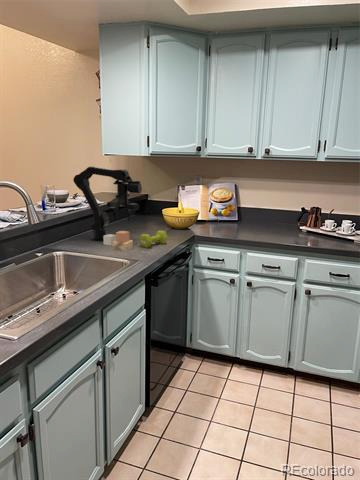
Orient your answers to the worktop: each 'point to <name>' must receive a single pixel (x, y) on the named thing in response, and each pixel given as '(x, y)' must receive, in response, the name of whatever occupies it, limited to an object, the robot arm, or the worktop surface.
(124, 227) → the worktop surface
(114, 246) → the oak base block
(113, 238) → the offwhite cube
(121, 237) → the terracotta cube
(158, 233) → the dumbbell
